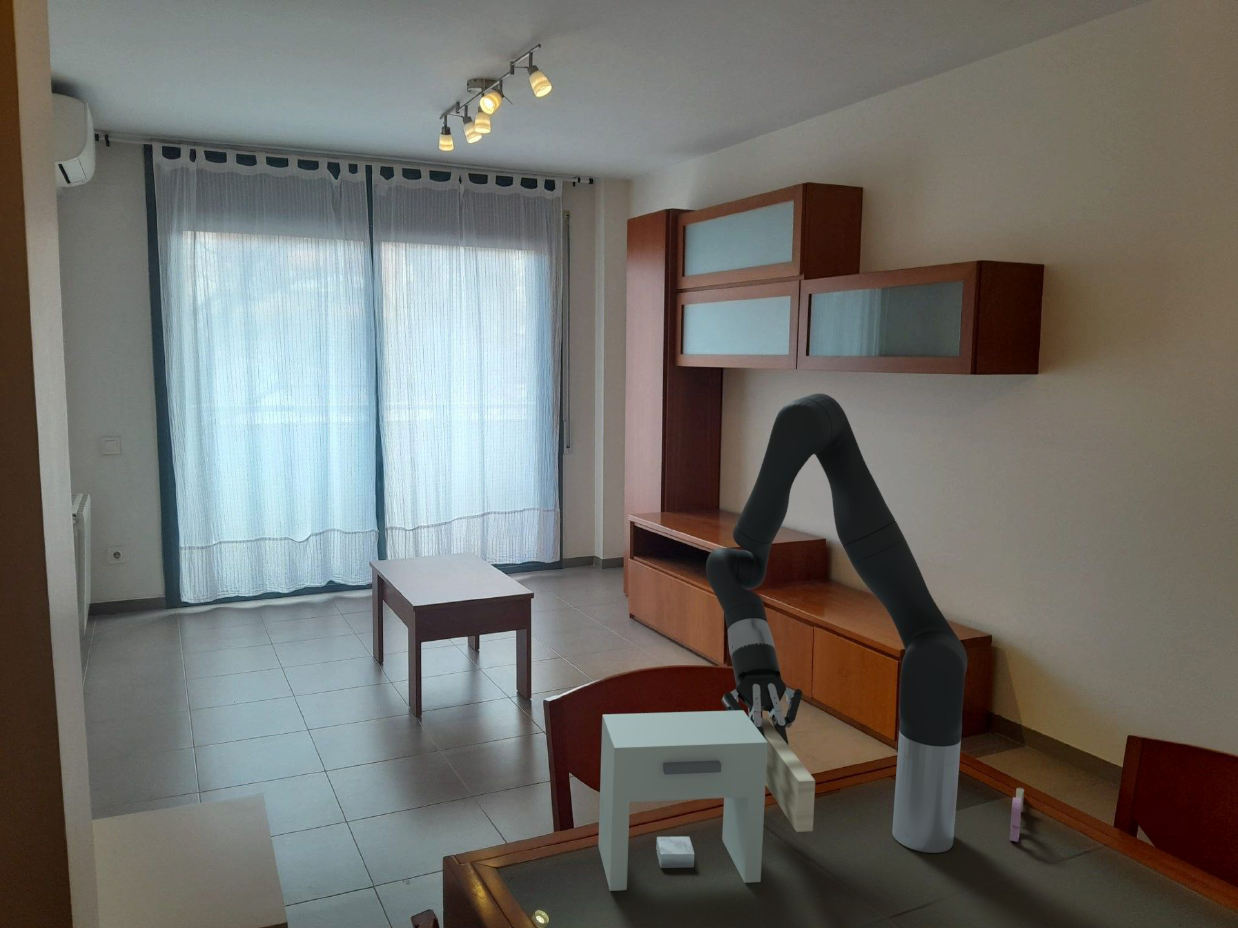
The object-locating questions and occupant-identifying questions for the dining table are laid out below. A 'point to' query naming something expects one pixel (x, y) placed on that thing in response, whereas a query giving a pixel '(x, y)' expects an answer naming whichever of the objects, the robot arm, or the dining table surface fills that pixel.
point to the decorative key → (1016, 814)
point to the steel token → (675, 852)
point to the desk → (683, 779)
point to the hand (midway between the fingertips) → (773, 751)
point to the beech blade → (789, 780)
